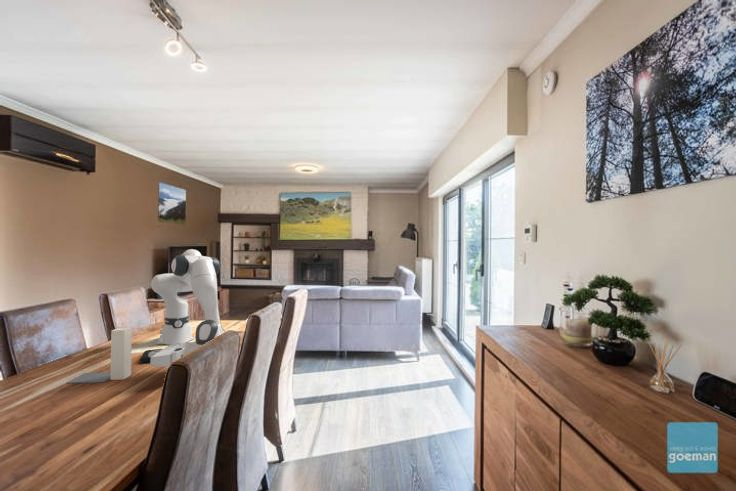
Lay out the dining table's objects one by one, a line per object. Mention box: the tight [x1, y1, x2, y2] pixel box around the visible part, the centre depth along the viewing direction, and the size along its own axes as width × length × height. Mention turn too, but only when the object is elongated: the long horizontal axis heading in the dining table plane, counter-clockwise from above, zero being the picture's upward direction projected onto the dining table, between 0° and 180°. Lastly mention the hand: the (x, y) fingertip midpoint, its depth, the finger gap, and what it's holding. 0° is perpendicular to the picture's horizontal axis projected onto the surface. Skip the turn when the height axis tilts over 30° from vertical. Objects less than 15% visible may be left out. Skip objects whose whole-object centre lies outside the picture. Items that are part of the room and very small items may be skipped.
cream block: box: [109, 327, 133, 381], centre depth 139 cm, size 5×5×20 cm
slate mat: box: [65, 371, 111, 384], centre depth 138 cm, size 14×10×1 cm
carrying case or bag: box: [139, 348, 162, 364], centre depth 163 cm, size 11×3×15 cm
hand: (150, 353), depth 141 cm, fingers closed
